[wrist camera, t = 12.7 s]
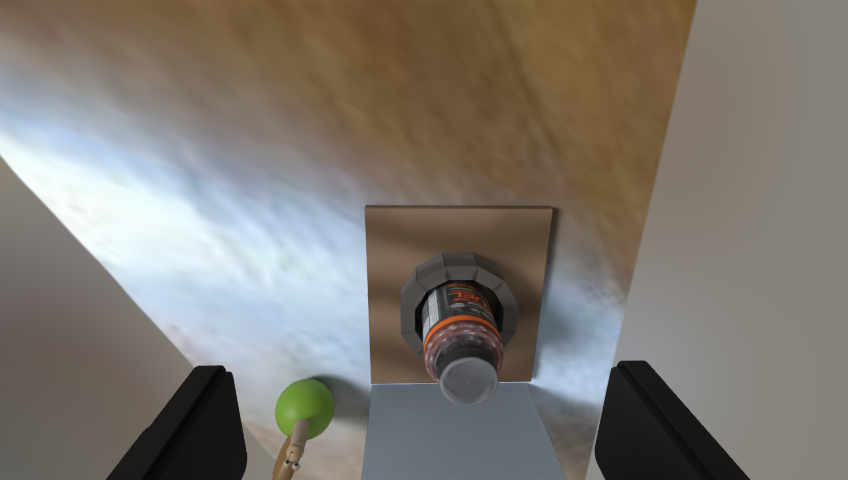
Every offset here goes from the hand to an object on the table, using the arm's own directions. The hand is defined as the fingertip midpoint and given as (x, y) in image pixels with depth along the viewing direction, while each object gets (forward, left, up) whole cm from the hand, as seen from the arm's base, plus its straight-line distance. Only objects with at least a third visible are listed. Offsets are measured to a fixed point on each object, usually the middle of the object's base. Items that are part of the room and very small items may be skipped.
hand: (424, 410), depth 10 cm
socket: (+11, +4, -26) cm, 29 cm away
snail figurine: (+21, -10, -26) cm, 35 cm away
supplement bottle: (+11, +4, -26) cm, 28 cm away
